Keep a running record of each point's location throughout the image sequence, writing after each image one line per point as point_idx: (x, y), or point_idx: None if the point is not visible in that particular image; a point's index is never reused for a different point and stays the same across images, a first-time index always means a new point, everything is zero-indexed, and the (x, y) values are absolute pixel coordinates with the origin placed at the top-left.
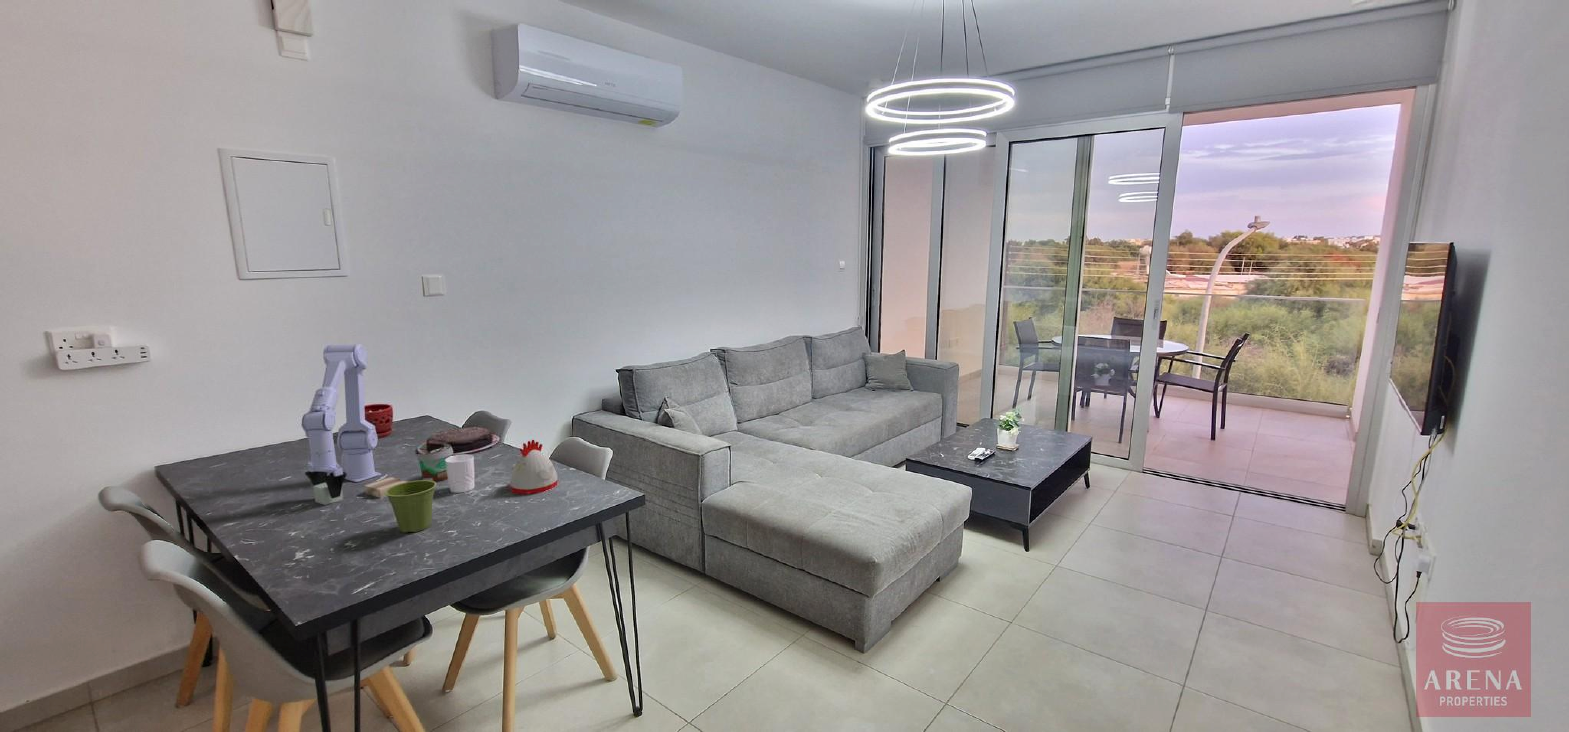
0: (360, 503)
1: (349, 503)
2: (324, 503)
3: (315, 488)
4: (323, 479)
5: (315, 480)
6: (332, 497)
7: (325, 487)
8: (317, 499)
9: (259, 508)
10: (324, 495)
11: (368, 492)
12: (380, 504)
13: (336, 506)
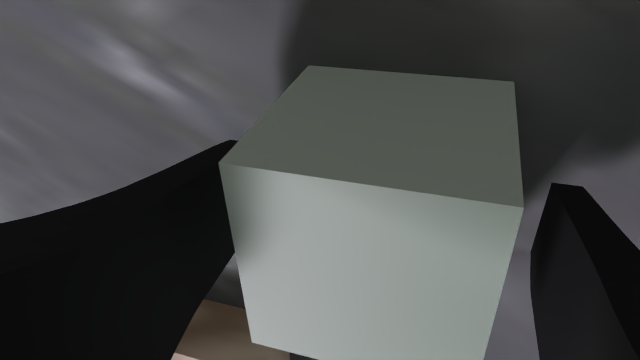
0: (105, 185)
1: (163, 162)
2: (307, 70)
3: (450, 175)
4: (6, 265)
5: (599, 343)
6: (224, 143)
7: (254, 211)
8: (451, 92)
9: None
10: (265, 119)
11: (240, 321)
12: (6, 207)
13: (169, 80)
